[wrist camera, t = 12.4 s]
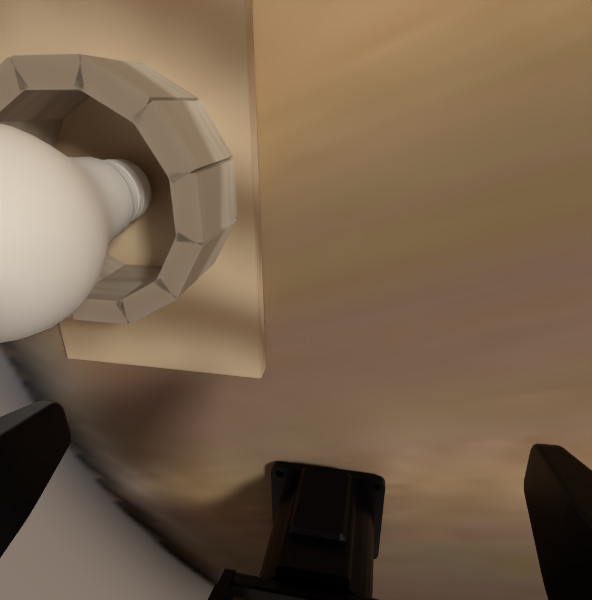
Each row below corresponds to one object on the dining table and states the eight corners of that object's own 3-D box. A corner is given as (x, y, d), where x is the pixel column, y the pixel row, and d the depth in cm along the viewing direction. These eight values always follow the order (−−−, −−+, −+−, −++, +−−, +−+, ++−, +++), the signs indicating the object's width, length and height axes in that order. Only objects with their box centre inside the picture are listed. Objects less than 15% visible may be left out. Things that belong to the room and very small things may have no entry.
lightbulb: (67, 228, 21) (-214, 341, 11) (73, 92, 18) (-291, 81, 8) (187, 269, 21) (6, 421, 11) (211, 136, 18) (0, 179, 8)
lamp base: (265, 367, 23) (237, 430, 19) (79, 349, 25) (12, 402, 21) (248, -89, 16) (193, -166, 11) (-20, -68, 17) (-161, -126, 13)
